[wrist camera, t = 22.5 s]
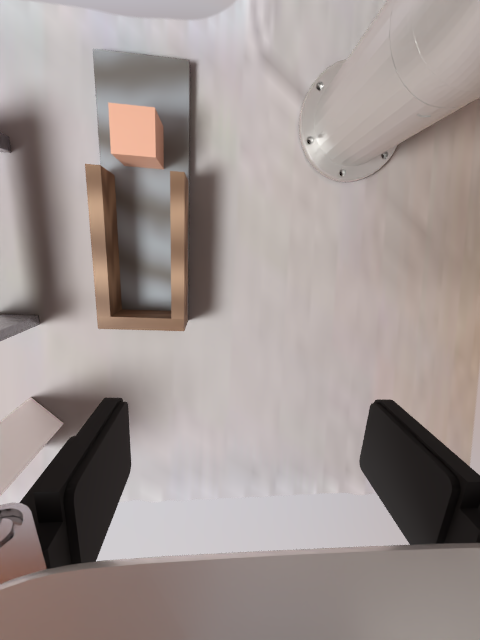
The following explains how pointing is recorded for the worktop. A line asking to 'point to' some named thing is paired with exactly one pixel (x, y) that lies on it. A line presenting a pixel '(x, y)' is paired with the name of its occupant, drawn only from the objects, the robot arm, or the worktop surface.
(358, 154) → the robot arm
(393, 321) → the worktop surface
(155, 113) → the cube
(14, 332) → the grey long bar
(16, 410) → the milk
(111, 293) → the cubby
